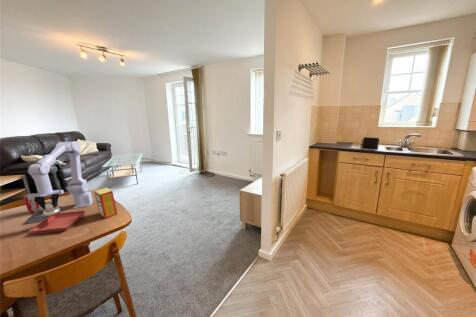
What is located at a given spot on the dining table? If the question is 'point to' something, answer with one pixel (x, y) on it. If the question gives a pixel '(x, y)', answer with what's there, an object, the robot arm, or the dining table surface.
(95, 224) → the dining table surface
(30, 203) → the beverage can
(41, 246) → the dining table surface
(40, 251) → the dining table surface
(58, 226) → the plant saucer
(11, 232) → the dining table surface
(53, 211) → the end cover
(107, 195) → the baking soda box
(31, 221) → the bore housing
